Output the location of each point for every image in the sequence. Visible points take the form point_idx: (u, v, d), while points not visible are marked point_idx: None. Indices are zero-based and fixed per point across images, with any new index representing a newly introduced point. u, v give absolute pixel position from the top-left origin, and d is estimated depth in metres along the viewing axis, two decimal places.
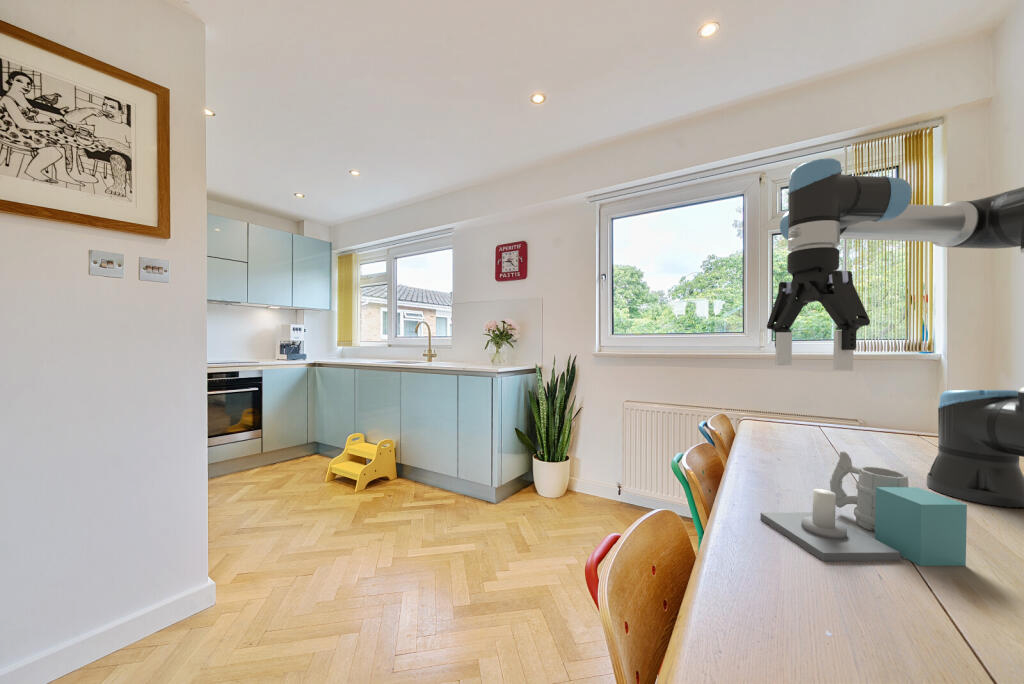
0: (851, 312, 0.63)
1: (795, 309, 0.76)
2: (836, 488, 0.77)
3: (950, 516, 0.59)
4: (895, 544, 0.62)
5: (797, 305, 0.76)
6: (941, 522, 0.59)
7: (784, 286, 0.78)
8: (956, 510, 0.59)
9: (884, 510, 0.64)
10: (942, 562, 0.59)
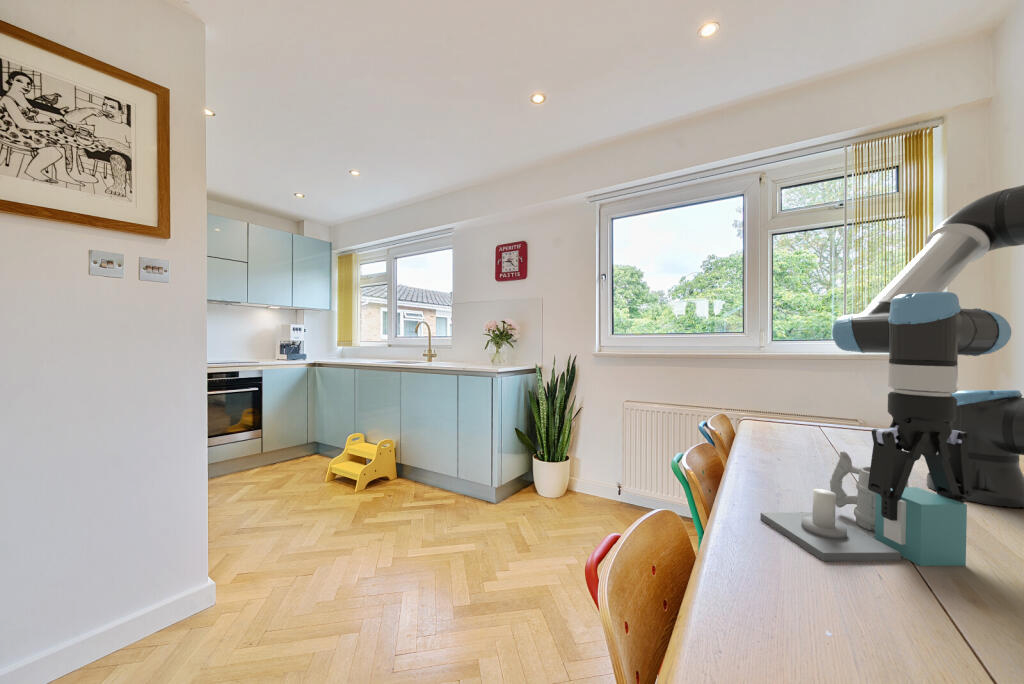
0: (869, 478, 0.63)
1: (934, 463, 0.62)
2: (836, 488, 0.77)
3: (950, 516, 0.59)
4: (895, 544, 0.62)
5: (931, 457, 0.62)
6: (941, 522, 0.59)
7: None
8: (956, 510, 0.59)
9: None
10: (942, 562, 0.59)
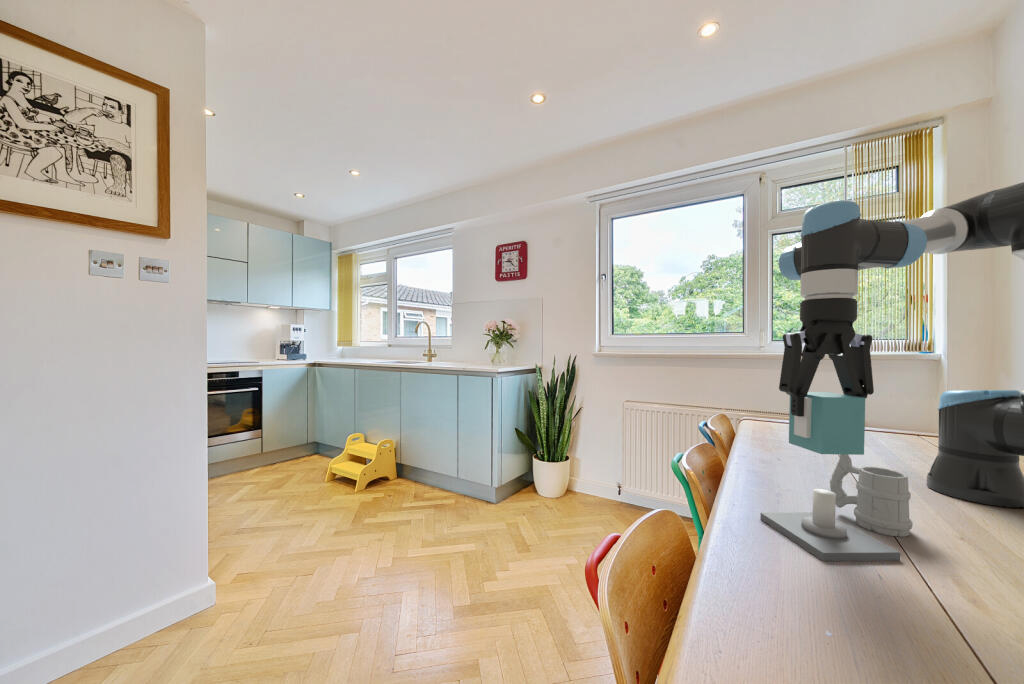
0: (780, 379, 0.68)
1: (839, 365, 0.67)
2: (836, 488, 0.77)
3: (849, 408, 0.63)
4: (803, 440, 0.67)
5: (837, 359, 0.67)
6: (841, 414, 0.63)
7: None
8: (855, 403, 0.63)
9: None
10: (842, 451, 0.63)
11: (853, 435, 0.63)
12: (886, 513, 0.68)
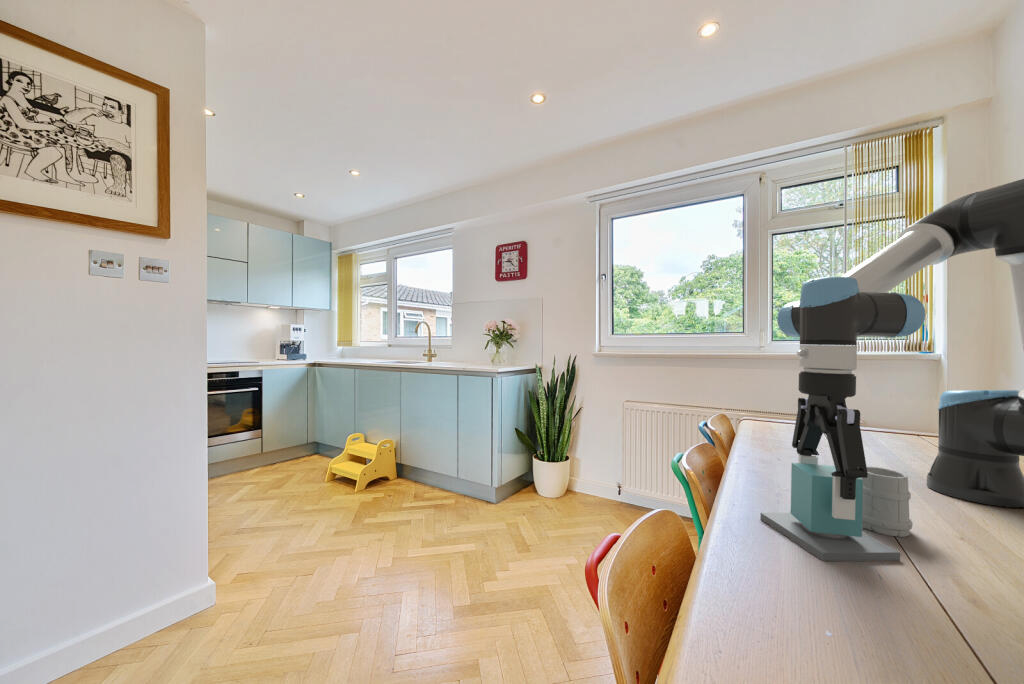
0: (847, 462, 0.59)
1: (815, 431, 0.70)
2: None
3: None
4: (835, 526, 0.63)
5: (816, 427, 0.69)
6: None
7: (802, 403, 0.72)
8: None
9: (822, 496, 0.64)
10: None
11: None
12: (886, 513, 0.68)
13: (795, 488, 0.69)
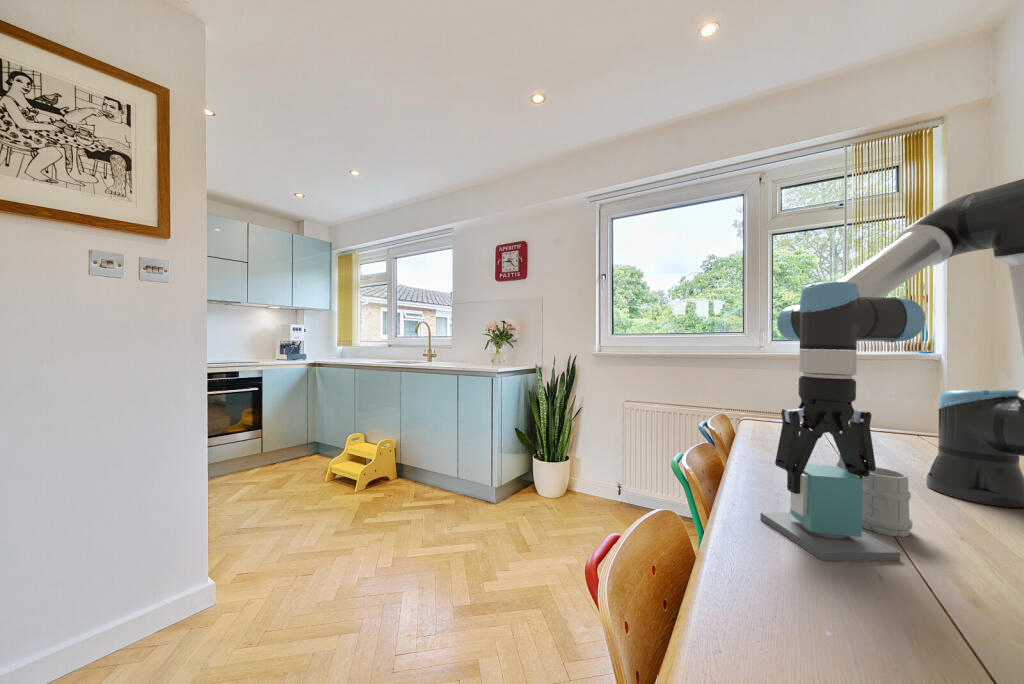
0: (777, 454, 0.68)
1: (840, 441, 0.67)
2: None
3: None
4: (834, 526, 0.63)
5: (837, 436, 0.67)
6: None
7: None
8: None
9: (822, 496, 0.64)
10: None
11: None
12: (886, 513, 0.68)
13: None
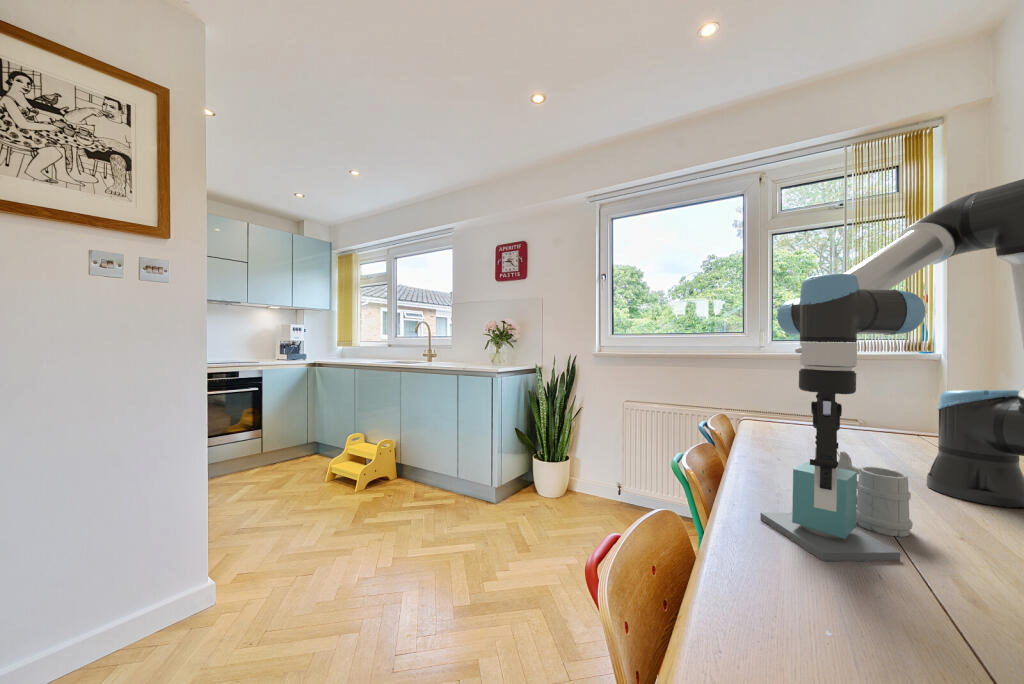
0: (816, 450, 0.60)
1: None
2: None
3: None
4: (850, 524, 0.64)
5: None
6: None
7: None
8: None
9: (848, 499, 0.63)
10: None
11: None
12: (886, 513, 0.68)
13: (805, 495, 0.66)
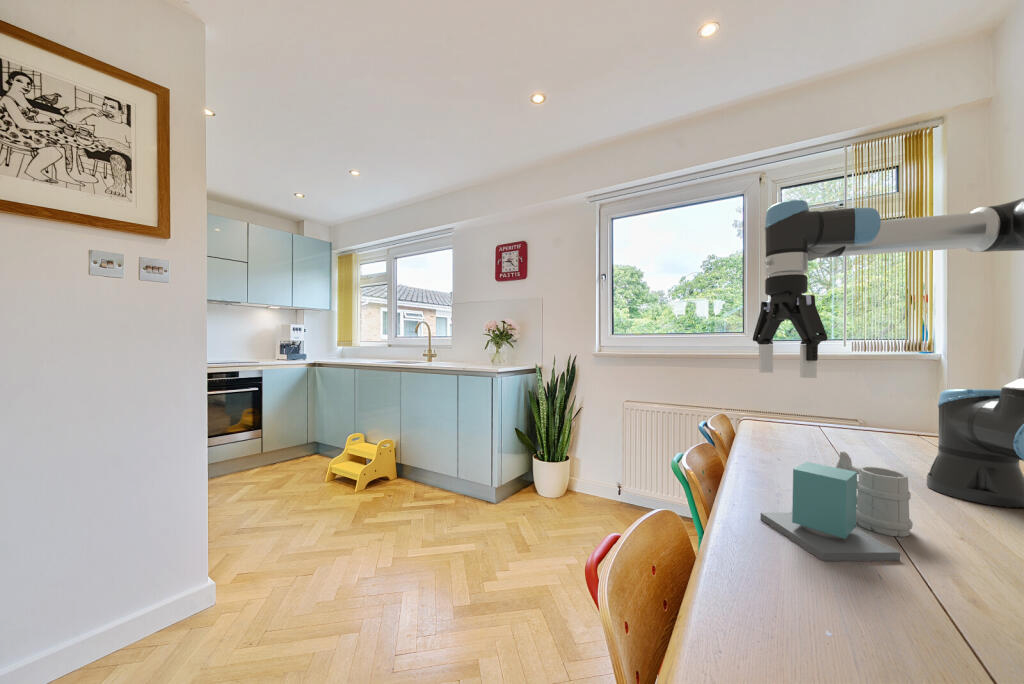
0: (812, 330, 0.77)
1: (774, 325, 0.90)
2: None
3: None
4: (850, 524, 0.64)
5: (775, 321, 0.89)
6: None
7: (765, 305, 0.92)
8: None
9: (848, 499, 0.63)
10: None
11: None
12: (886, 513, 0.68)
13: (805, 495, 0.66)
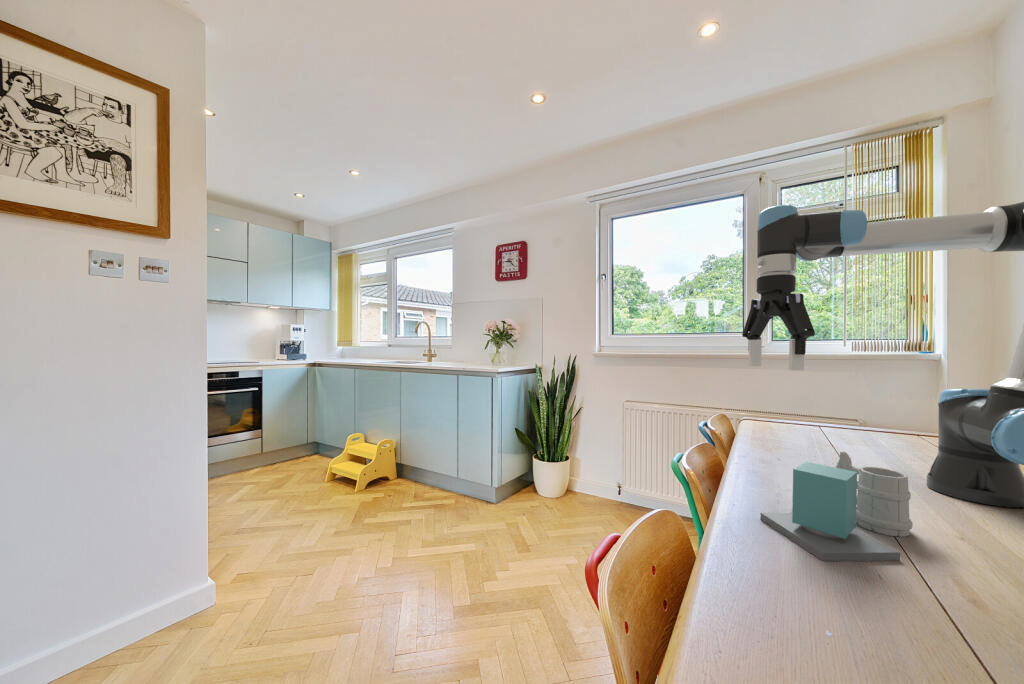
0: (801, 326, 0.83)
1: (763, 321, 0.96)
2: None
3: None
4: (850, 524, 0.64)
5: (765, 318, 0.95)
6: None
7: (755, 303, 0.98)
8: None
9: (848, 499, 0.63)
10: None
11: None
12: (886, 513, 0.68)
13: (805, 495, 0.66)
